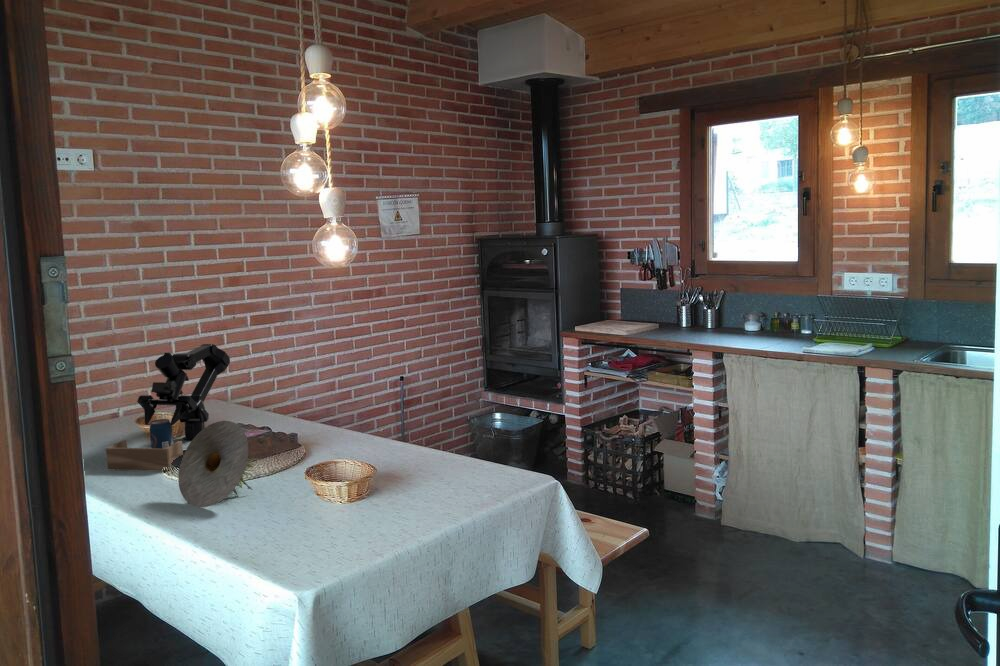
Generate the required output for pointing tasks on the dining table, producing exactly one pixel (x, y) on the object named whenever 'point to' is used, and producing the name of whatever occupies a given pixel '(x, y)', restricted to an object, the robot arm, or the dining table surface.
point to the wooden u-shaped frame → (141, 457)
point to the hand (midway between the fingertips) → (158, 424)
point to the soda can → (161, 434)
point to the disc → (214, 464)
